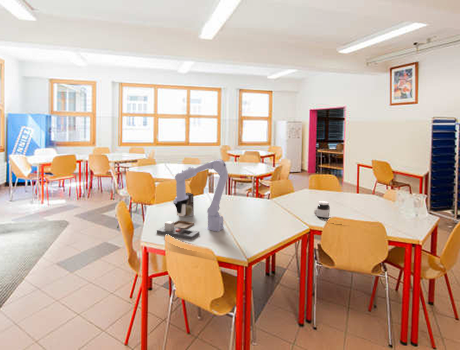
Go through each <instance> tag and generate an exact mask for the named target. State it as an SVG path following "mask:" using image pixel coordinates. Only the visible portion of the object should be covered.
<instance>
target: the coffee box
mask: <svg viewBox="0 0 460 350" xmlns="http://www.w3.org/2000/svg"><path fill="white" fill-rule="evenodd" d="M186 196H188V199H186V200H188V203H187V205H186V215H184V216H181V217H183V218H186V217H192V216H194V215H195V211H194V209H195V207H194V205H195V204H194V193H192V192H186Z"/></svg>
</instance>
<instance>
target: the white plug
mask: <svg viewBox="0 0 460 350" xmlns="http://www.w3.org/2000/svg"><path fill="white" fill-rule="evenodd" d="M184 215H186V205H185V204H182V208H181V213H178V212H177V211H176V216H177V217H182V216H184Z"/></svg>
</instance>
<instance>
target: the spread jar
mask: <svg viewBox="0 0 460 350" xmlns="http://www.w3.org/2000/svg"><path fill="white" fill-rule="evenodd" d="M329 204H330V202H329V201H327V200H319V201H318V205H317V206H316V208H314V210H313V214H314V215H316V217H317V218H318V219H321V220H327V219H329V217H330V209H331V208H330V205H329Z"/></svg>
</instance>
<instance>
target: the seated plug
mask: <svg viewBox="0 0 460 350" xmlns="http://www.w3.org/2000/svg"><path fill="white" fill-rule="evenodd" d="M174 222H175V221H171V220H168V221H165V222H164V226H165V231H173V230H174Z"/></svg>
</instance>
